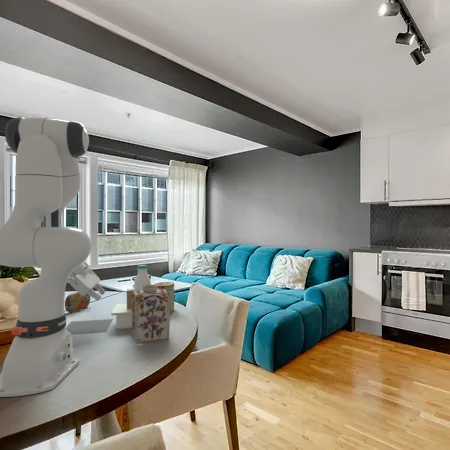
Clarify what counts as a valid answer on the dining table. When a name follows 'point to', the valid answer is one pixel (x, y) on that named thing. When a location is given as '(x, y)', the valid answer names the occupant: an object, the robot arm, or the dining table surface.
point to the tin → (76, 302)
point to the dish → (123, 321)
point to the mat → (88, 326)
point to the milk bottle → (141, 278)
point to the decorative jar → (150, 314)
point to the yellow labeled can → (170, 290)
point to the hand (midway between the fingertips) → (102, 296)
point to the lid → (124, 305)
